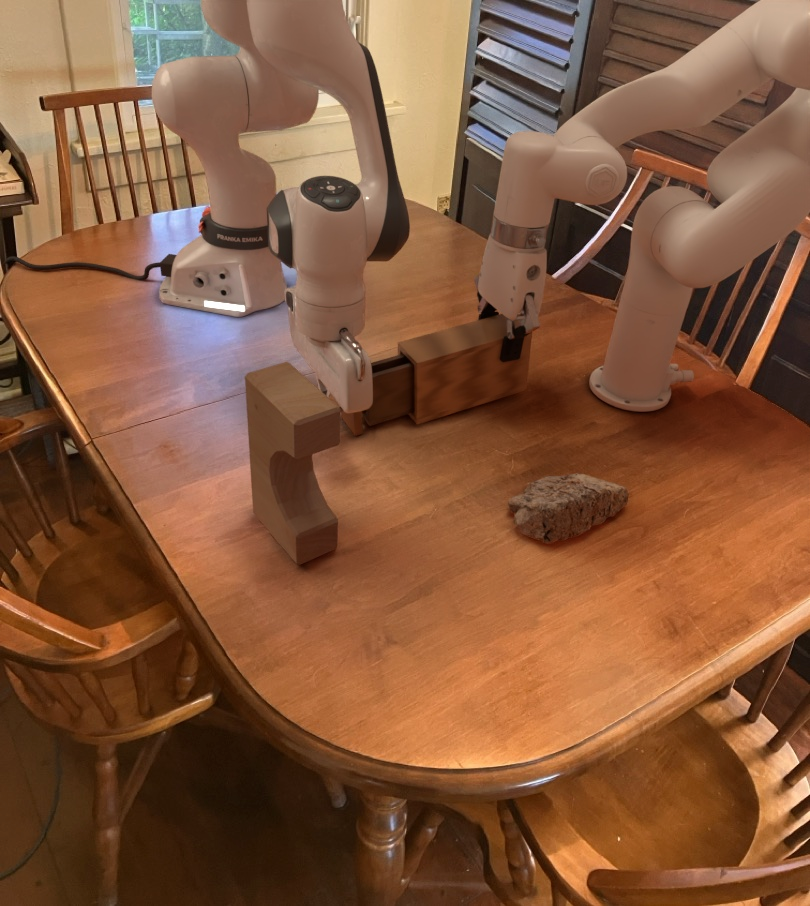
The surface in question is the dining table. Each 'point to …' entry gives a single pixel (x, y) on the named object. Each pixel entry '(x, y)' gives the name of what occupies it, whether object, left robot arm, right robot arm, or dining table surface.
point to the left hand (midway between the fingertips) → (329, 405)
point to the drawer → (386, 393)
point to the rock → (565, 506)
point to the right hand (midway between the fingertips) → (497, 347)
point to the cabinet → (463, 367)
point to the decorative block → (290, 458)
